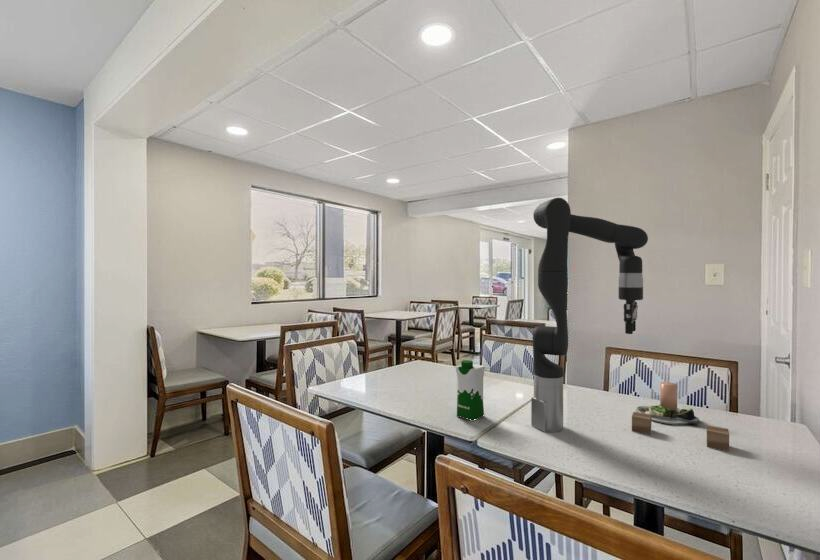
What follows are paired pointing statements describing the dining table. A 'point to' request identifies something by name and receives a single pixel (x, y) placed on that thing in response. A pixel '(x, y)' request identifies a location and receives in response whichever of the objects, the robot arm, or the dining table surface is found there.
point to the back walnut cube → (641, 423)
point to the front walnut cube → (717, 438)
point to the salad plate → (670, 415)
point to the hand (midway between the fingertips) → (630, 332)
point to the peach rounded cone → (668, 395)
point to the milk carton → (470, 390)
